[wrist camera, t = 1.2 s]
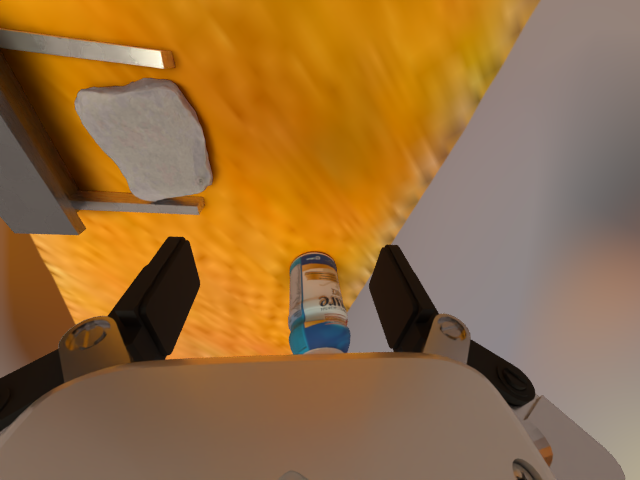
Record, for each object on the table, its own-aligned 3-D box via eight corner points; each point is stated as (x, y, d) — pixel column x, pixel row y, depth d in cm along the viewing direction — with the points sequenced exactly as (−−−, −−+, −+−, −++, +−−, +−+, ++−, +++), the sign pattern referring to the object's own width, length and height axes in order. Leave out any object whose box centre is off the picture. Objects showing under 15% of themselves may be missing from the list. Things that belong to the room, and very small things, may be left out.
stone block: (183, 70, 24) (78, 87, 23) (176, 73, 21) (50, 94, 19) (227, 175, 32) (150, 194, 31) (227, 191, 28) (140, 213, 27)
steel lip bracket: (-66, 6, 19) (-195, -11, 14) (169, 40, 21) (131, 35, 16) (61, 203, 30) (14, 233, 25) (205, 210, 32) (190, 238, 27)
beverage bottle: (279, 262, 40) (271, 396, 24) (323, 242, 38) (345, 373, 22) (304, 289, 45) (310, 414, 29) (344, 272, 43) (373, 397, 27)
